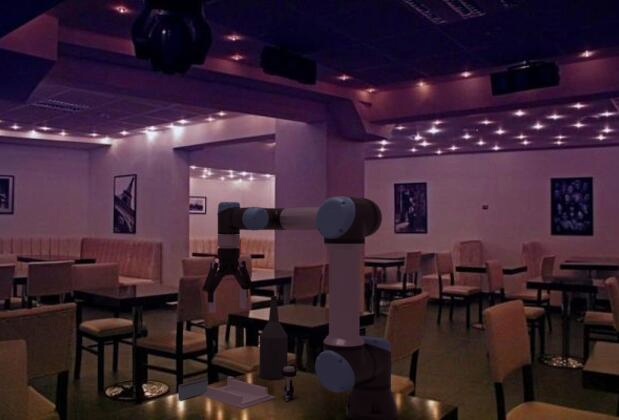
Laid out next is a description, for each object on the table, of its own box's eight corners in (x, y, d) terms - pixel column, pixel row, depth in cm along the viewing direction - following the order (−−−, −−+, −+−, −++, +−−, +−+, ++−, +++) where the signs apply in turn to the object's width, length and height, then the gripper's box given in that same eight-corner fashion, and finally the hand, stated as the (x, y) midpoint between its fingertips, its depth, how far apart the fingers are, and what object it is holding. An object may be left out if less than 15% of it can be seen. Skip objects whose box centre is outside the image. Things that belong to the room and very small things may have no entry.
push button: (294, 402, 179) (295, 370, 180) (278, 401, 180) (278, 370, 180) (298, 396, 186) (298, 365, 186) (282, 395, 187) (282, 365, 187)
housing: (275, 398, 184) (275, 387, 184) (242, 408, 173) (242, 397, 173) (230, 385, 198) (230, 376, 198) (197, 395, 187) (197, 384, 187)
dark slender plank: (207, 392, 188) (208, 378, 188) (180, 400, 180) (181, 385, 180) (205, 391, 189) (205, 378, 189) (178, 399, 181) (178, 385, 181)
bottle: (288, 374, 214) (288, 294, 215) (286, 381, 204) (287, 297, 205) (260, 373, 214) (261, 294, 215) (258, 381, 205) (258, 297, 206)
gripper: (247, 246, 204) (247, 305, 204) (192, 248, 186) (191, 313, 185) (262, 246, 200) (262, 307, 199) (206, 248, 181) (206, 315, 180)
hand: (228, 310), depth 192 cm, fingers open, 13 cm apart
